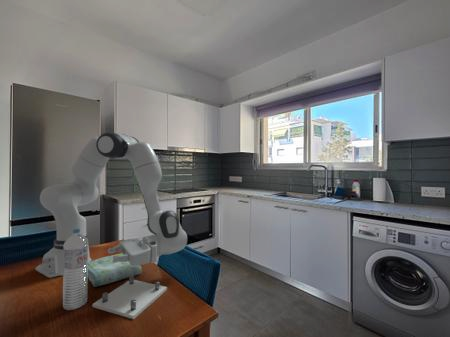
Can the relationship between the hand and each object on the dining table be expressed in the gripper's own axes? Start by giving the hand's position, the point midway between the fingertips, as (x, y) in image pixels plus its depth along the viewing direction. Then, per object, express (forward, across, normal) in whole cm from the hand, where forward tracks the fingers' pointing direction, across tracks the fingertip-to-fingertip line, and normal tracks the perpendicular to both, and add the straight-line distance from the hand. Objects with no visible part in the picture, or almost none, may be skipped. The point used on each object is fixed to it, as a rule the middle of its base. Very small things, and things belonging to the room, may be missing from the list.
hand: (110, 255), depth 78 cm
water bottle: (+10, 0, +14) cm, 18 cm away
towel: (-4, -17, +15) cm, 23 cm away
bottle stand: (-6, +8, +14) cm, 17 cm away
